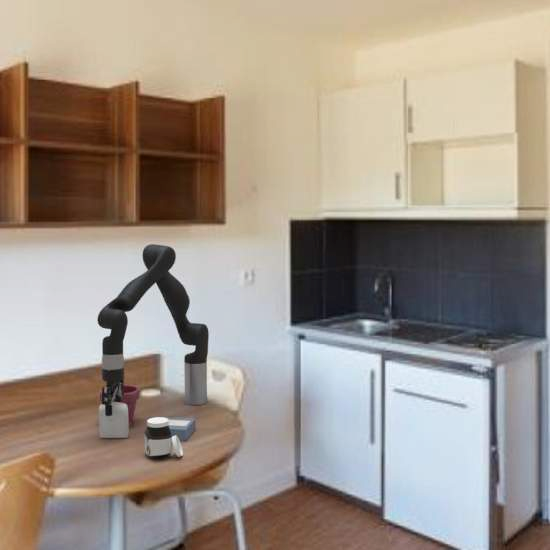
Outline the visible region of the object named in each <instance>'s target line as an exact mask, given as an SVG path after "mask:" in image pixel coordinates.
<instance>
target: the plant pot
mask: <svg viewBox="0 0 550 550" xmlns="http://www.w3.org/2000/svg"><path fill="white" fill-rule="evenodd" d="M139 399H140V389H139V387H137V386H136V385H131V384H130V385H129V384H124V395H122V398H121V403H124V404H127V406H128V420H129V425H131V424H132V423H133V422H134V416H135V410H136V406H137V401H138V400H139ZM99 401H100V402H101V403H102V388H101V389H100V390H99ZM107 401H108V400H107ZM113 402H115V399H113Z"/></svg>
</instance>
